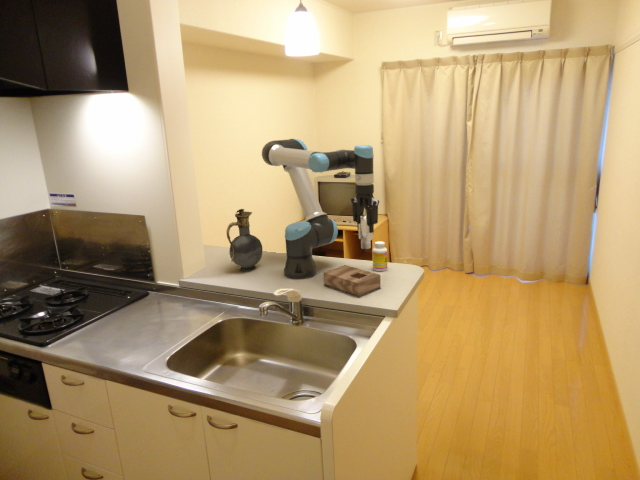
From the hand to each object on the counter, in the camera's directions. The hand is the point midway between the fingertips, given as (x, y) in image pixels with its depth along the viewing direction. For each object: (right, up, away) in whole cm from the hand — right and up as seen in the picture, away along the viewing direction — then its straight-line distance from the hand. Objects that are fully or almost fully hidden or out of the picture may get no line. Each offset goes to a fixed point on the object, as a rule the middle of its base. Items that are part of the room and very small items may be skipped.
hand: (365, 238), depth 191 cm
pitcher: (-55, -15, +27) cm, 63 cm away
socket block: (-6, -20, -2) cm, 21 cm away
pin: (0, -4, +1) cm, 4 cm away
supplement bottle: (+9, -14, +18) cm, 25 cm away
